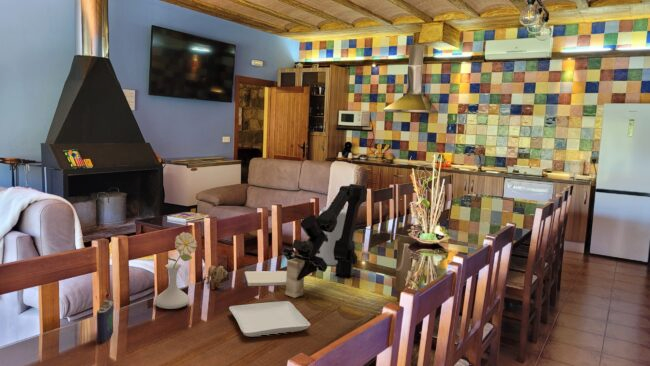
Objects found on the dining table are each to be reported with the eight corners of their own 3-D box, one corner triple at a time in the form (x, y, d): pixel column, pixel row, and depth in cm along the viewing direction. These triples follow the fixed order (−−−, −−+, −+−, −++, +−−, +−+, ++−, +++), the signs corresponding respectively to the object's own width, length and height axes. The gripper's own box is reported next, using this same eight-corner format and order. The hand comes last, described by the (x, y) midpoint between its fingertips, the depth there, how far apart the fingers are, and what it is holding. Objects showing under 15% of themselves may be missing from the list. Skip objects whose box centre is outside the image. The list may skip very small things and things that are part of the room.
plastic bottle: (342, 256, 236) (347, 200, 232) (354, 265, 221) (359, 205, 218) (313, 257, 231) (317, 199, 227) (323, 266, 217) (327, 205, 213)
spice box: (293, 291, 182) (295, 258, 180) (302, 294, 179) (305, 260, 177) (285, 294, 178) (287, 260, 177) (294, 297, 175) (296, 263, 174)
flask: (105, 329, 141) (106, 294, 139) (116, 329, 141) (116, 294, 140) (95, 344, 132) (95, 306, 130) (106, 344, 132) (107, 306, 131)
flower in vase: (156, 314, 154) (158, 237, 151) (151, 301, 164) (153, 229, 161) (198, 309, 160) (200, 235, 157) (190, 297, 170) (193, 227, 167)
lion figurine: (228, 290, 179) (229, 266, 178) (215, 292, 176) (216, 268, 175) (212, 278, 191) (213, 256, 190) (199, 280, 188) (200, 257, 187)
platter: (287, 273, 203) (287, 270, 203) (294, 284, 190) (294, 282, 190) (244, 274, 199) (244, 271, 199) (248, 285, 185) (248, 282, 185)
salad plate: (227, 315, 158) (227, 305, 157) (288, 309, 166) (289, 299, 166) (242, 343, 139) (243, 332, 138) (311, 335, 147) (312, 324, 147)
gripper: (286, 226, 184) (264, 260, 177) (324, 236, 173) (302, 272, 166) (298, 243, 192) (278, 276, 184) (336, 254, 180) (315, 289, 173)
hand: (292, 278), depth 177 cm, fingers closed on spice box, 5 cm apart
